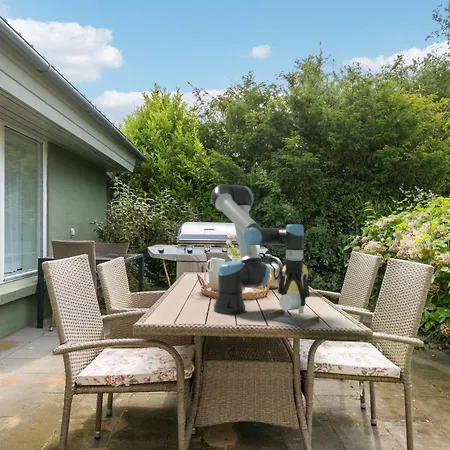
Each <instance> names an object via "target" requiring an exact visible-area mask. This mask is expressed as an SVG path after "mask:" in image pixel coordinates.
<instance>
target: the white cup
mask: <svg viewBox="0 0 450 450" xmlns="http://www.w3.org/2000/svg"><path fill="white" fill-rule="evenodd" d="M299 298H301V297H300V294H299V291H295V292H291V293H287V294H284V295H281V296H279V300H278V304H279V306H280V308H281V309H284V310H285V311H294V310H299ZM306 299H307V298H305V304H306V303H307V302H306V301H307V300H306Z"/></svg>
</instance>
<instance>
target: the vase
mask: <svg viewBox="0 0 450 450" xmlns="http://www.w3.org/2000/svg"><path fill="white" fill-rule="evenodd" d="M285 270H286V267H285V265H284V266H283V267H282V271H285ZM282 271H281V272H282ZM302 272H303V273H304V274H308V275H309V271H308V268H307V266H306V265H305V264H304V263H303V269H302ZM286 278H287V276H285V282H286ZM301 280H302V285H303V278H302V277H301ZM284 285H285V283H284ZM295 291H298V287H297V284H296V283H295V281H293V280H292V282H291V284H290V286H289V289H288V291H287V293H291V292H295Z"/></svg>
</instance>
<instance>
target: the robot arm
mask: <svg viewBox="0 0 450 450" xmlns="http://www.w3.org/2000/svg"><path fill="white" fill-rule="evenodd" d="M210 201H211V203H212V205H213V206H214V208H216V210H218V211H221V212H222V213H223V214H224V215H225V216H226V217H227V218H228V219H229V220H230V221H231V222H232V223H233V224H234V229H235V234H236V239H237V244H238V245H237V246H238V249H239V254H240V260H233V261H232V260H230V261H224V262H221V263H220V264H219V265H218V272H217V274H218V275H217V277H218V280H217V295H216V299H215V303H214V305H213V311H214V312H215V313H219V314H225V315H237V314H243V313H245V312H246V305H245V301H244V298H243V289H245V288H258V287H262V286H265V285H266V284H267V283H268V281H269V278H270V269H269V266H268V265H267V264H266V263H264V262H263V259H262V257H261V256H259V255H258V250H257V246H285V259H286V260H285V264H284V266H285V267H286V270H285V271H279V281H278V289H277V293H278V294H279V295H281V296H282V295H284V294H287V291H288V289H289V286H290V284H291V282H292V280H293V281H295V283H296V284H297V287H298V291H299V294H300V297H301V298H299V309H298V314H299V315H301V314H304V310H305V309H304V307H305V306H306V303H305V298H306V299H307V298H309V297H310V295H311V294H310V287H309V277H310V274H309V273H308V274H304V273H303V272H302V269H303V264H304V261H303V260H304V238H305V237H304V235H305V231H304V225H303V224H287V225H286V228H279V227H268V228H267V227H261V226H260V225H259V224H258V223H256V221H255V220H254V219H253V218H251V216H250V210H252V206H253V204H254V194H253V191H252V189H251V188H249V187H248V186H246V185H243V184H242V185H241V184H238V185H235V184H225V183H221V184H218V185H216V186H215V187H214V189H212V191H211V195H210ZM285 276H287V278H286V282H285ZM301 277H302V278H303V285H302V280H301ZM284 283H285V285H284ZM283 311H284V312H285V311H286V310H284V309H283Z"/></svg>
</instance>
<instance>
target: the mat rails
mask: <svg viewBox="0 0 450 450" xmlns="http://www.w3.org/2000/svg"><path fill="white" fill-rule="evenodd" d="M284 314H285V311H283V309H282V308H281V309H276V310H273V311H268V312H267V311H266V313H265V319H266V318H272V317H276V316H280V315H284ZM320 318H321V316H318V315H316V316H313V317H309V318H304V319H305V320H302V326H308V325H311V324H314V323H317V324H319V323H318V322H321V320H320ZM314 325H315V324H314ZM311 326H312V325H311ZM308 327H309V326H308Z"/></svg>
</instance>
